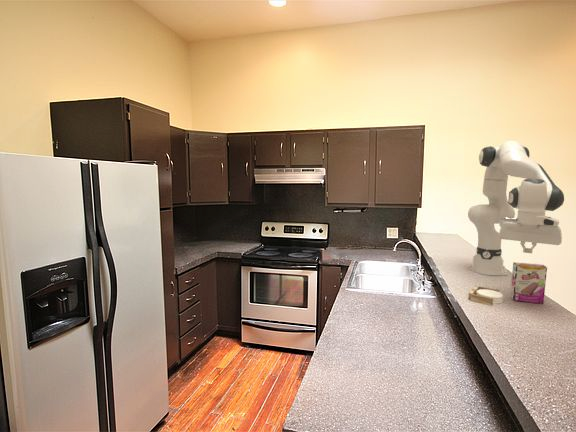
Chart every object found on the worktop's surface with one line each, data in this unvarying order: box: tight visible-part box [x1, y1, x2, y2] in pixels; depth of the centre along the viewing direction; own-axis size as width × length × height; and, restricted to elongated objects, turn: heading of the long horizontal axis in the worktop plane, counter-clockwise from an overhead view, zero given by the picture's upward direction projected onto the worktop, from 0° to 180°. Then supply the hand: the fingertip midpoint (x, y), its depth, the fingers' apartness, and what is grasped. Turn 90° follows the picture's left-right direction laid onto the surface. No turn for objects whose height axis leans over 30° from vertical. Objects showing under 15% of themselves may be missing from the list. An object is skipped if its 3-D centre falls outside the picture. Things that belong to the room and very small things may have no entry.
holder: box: [467, 285, 500, 306], centre depth 141 cm, size 15×9×3 cm, turn 137°
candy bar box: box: [509, 262, 548, 305], centre depth 138 cm, size 11×5×16 cm, turn 70°
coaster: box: [476, 289, 504, 305], centre depth 140 cm, size 10×10×4 cm
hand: (527, 252), depth 130 cm, fingers closed
